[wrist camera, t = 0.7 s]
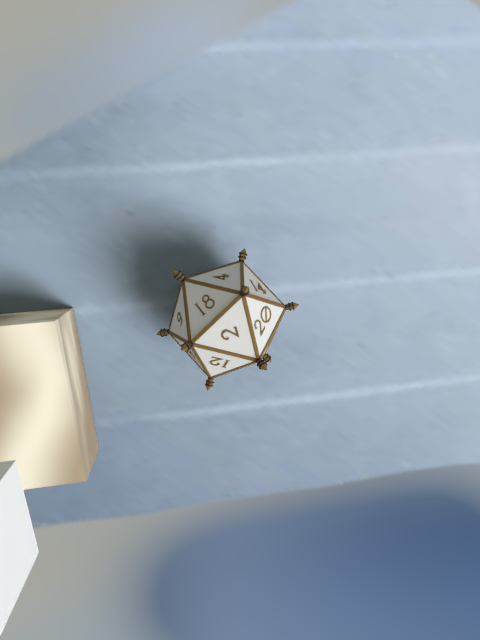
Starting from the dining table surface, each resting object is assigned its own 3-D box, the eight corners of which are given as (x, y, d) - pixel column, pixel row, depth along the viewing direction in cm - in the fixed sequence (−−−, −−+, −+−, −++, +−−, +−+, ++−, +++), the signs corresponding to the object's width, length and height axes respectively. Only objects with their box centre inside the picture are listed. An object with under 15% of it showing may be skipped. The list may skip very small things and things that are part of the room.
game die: (214, 275, 33) (248, 199, 24) (283, 347, 32) (344, 297, 23) (130, 337, 29) (133, 274, 20) (206, 422, 28) (244, 395, 19)
